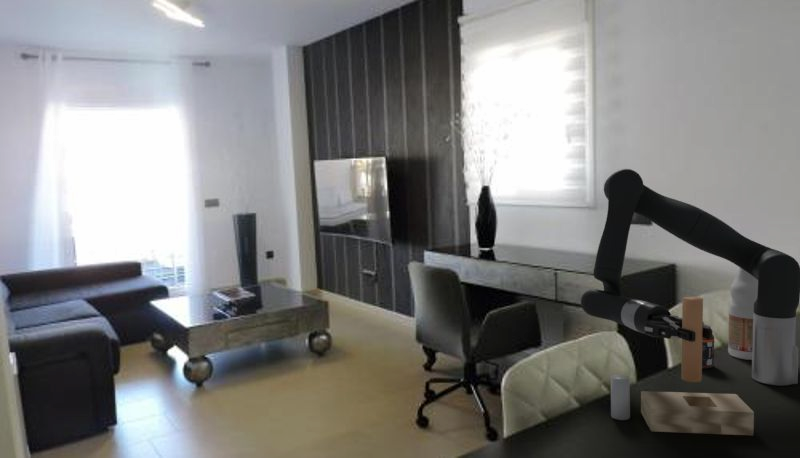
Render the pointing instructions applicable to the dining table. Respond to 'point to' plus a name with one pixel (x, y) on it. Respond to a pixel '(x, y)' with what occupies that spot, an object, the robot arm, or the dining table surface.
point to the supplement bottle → (707, 351)
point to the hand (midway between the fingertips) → (702, 335)
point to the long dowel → (693, 350)
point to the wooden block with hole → (696, 413)
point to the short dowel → (620, 397)
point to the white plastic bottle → (742, 315)
